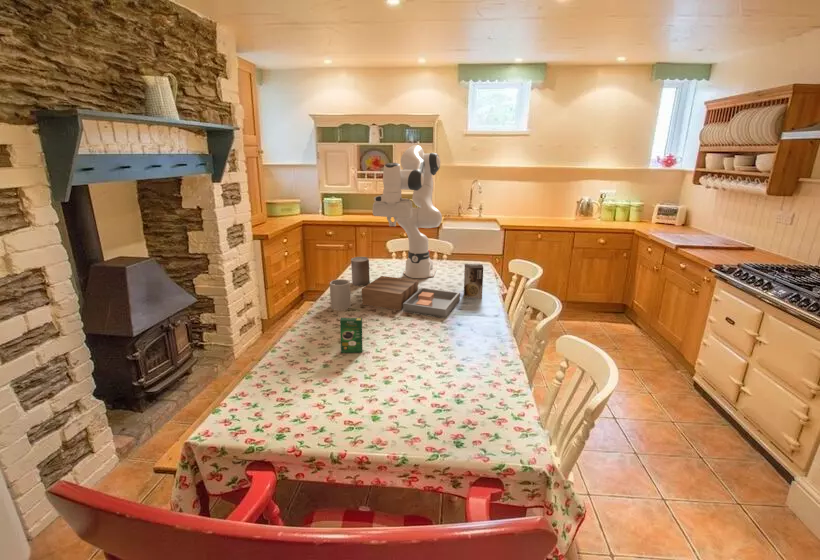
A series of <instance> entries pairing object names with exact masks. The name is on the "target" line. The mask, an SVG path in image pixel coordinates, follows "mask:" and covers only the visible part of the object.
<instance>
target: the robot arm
mask: <svg viewBox="0 0 820 560" xmlns="http://www.w3.org/2000/svg"><path fill="white" fill-rule="evenodd" d="M440 167H441V158H440V155H439V154H438V153H437V152H429V153H428V152H427V153H426V152H425V151H424V148H422V147H421V146H420V145H418V144H413V145H411V146H410V147H408V148H407V149H406V150H405V151H404V152H403V153H402V155H401V157H400V163H398V162H388V163H385V164H384V166H383V173H382V183H383V190H382V194H380V195H376V196H374V197H373V201H374V202H373V204H372V215H373V216H374V217H385V218H386V220H387V221H388V226H389V227H397V224H398V225H399V226H400V227H401V228H402V229H403V231H404V232H405V233H406V235H407V238H408V253H407V256H408V258H407V259H406V260H405V270H404V271H403V274H404V275H405V276H407V277H408V278H411V279H412V278H413V279H426V278H434V276H435V275H436V273H437V270H438V269H437V268H436V267H434V261H433V260H432V259H431V258H430V253H431V250H430V249H429V238H428V237H427V235H426V234H424V233H422V232H420V230H419V229H421V228H424V229H432V228H439V226H440V225H441V224H442V222H443V214H442V212H441V211H440V209H438V208H436V206H435V205H434V204H433V192H434V180H433V179H434V178H433V176H435V175H436V174H437V173H438V171H439V170H440V169H441V168H440ZM401 168H403V169H401ZM402 190H409V191H410V190H411V191H413V192H412V199H410V198H402ZM413 204H414V205H415V206H417V207H413ZM392 218H393V220H394V221H392Z"/></svg>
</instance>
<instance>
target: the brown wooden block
mask: <svg viewBox="0 0 820 560" xmlns="http://www.w3.org/2000/svg"><path fill="white" fill-rule="evenodd" d="M418 290H419V280H418V279H412V278H411V279H409V278H403V277H402V278H401V277H394V276H393V277H392V276H388V275H387V276H384V275H381V276H379V277H378V278H376V279H374V280H372V282H371V281H370V283H369V284H367V285H364V286H363V287H362V288H361V305H363V306H369V307H376V308H381V307H382V308H381V309H388V308H389V310H394V309H395V311H403V303H404V302H405V301H407V300H408V299H409V298H410V297H411V296H412V295H414V294H415V293H416V292H417V291H418Z"/></svg>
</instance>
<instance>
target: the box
mask: <svg viewBox="0 0 820 560" xmlns="http://www.w3.org/2000/svg"><path fill="white" fill-rule="evenodd" d="M422 292H429V293H434V299H433V300H432V307H430V306H423V305H416V303H417V302H418V301H419V300H418V295H419V294H421V293H422ZM460 297H461V292H458V291H448V290H442V289H434V288H428V287H427V288H426V287H420V288H418V291H417V292H416V293H415V294H414V295H412V296H411V297H410V298H409V299H408V300H407V301H405V302H404V303H403V309H402V312H404V313H408V314H415V315H416V314H417V315H421V314H422V315H423V316H429V317H434V316H435V318H441V319H446V318H447V317H448V316H449V314H450V313H451V312H452V311H453V309H454V308H455V306H457V305H458V303H459V302H460V301H461V299H460Z"/></svg>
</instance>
